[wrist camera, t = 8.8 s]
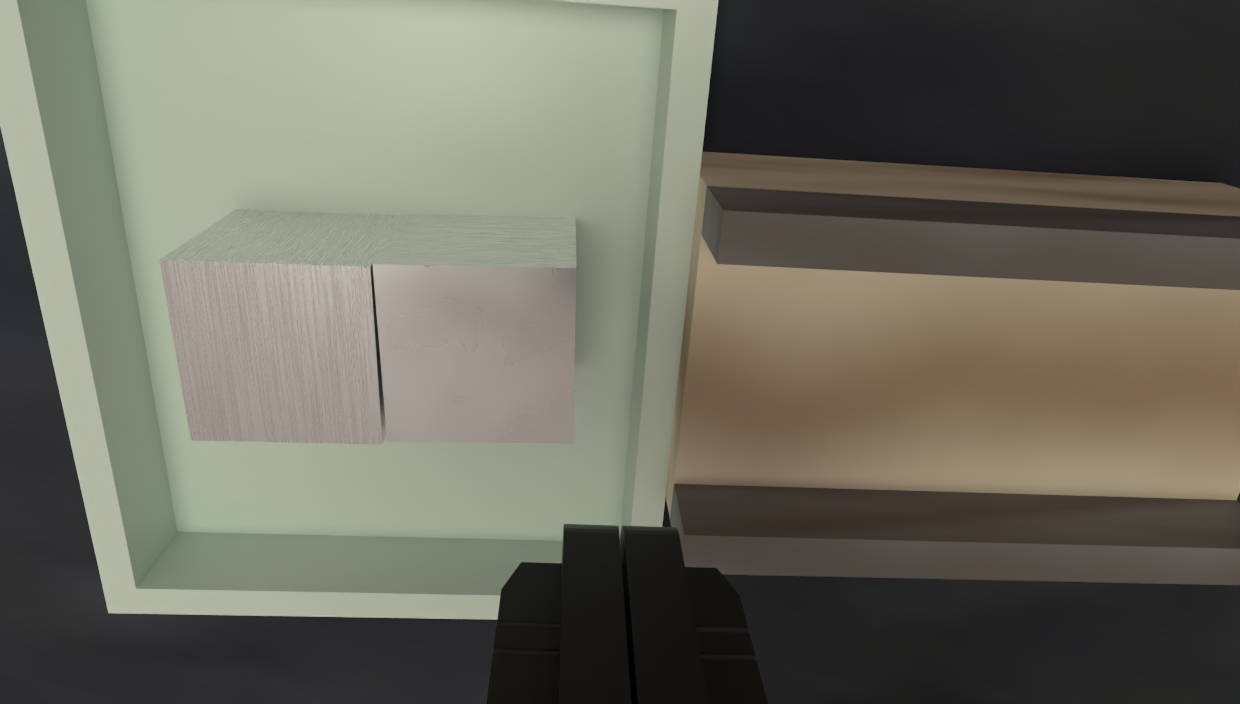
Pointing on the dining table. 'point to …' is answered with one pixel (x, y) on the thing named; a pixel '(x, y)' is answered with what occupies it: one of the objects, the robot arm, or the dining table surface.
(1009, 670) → the dining table surface
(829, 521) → the slot board
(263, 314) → the pale grey cube
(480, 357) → the light grey cube
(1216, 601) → the dining table surface
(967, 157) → the dining table surface
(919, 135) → the dining table surface
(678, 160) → the tray
